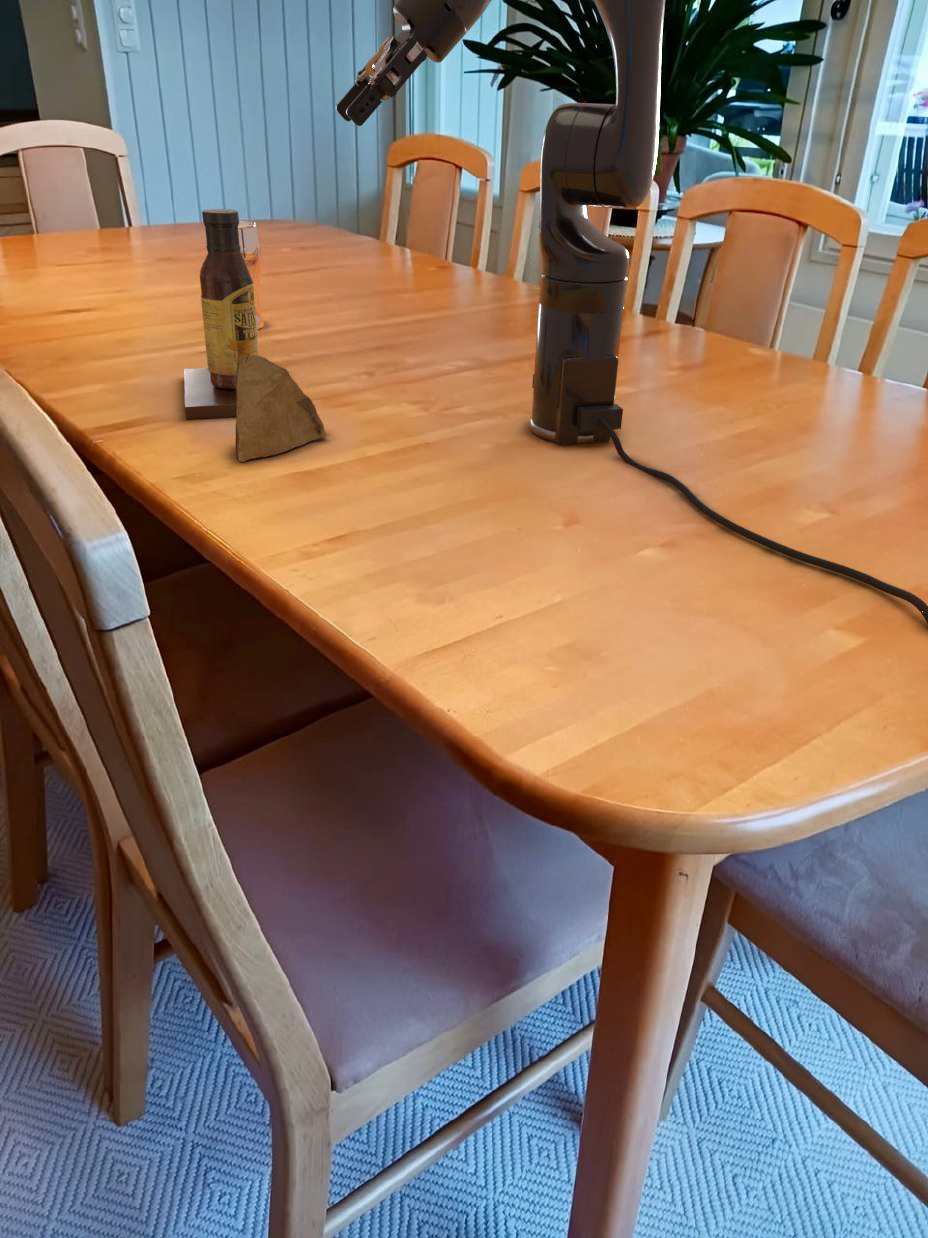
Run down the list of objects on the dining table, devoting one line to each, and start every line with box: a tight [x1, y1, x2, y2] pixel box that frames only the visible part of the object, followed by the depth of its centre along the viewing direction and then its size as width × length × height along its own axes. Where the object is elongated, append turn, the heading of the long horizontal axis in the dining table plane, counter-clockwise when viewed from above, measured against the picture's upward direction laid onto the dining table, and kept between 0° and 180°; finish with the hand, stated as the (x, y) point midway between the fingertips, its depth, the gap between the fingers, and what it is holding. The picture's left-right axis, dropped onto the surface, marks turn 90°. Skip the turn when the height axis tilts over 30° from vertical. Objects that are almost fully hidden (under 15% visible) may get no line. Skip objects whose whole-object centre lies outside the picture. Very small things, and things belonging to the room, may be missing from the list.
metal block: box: [183, 367, 237, 420], centre depth 117 cm, size 16×12×2 cm
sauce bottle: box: [199, 208, 260, 389], centre depth 111 cm, size 7×6×20 cm
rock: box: [235, 355, 327, 463], centre depth 100 cm, size 11×9×10 cm
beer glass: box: [238, 220, 265, 330], centre depth 144 cm, size 7×7×15 cm
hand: (346, 117), depth 108 cm, fingers open, 8 cm apart
